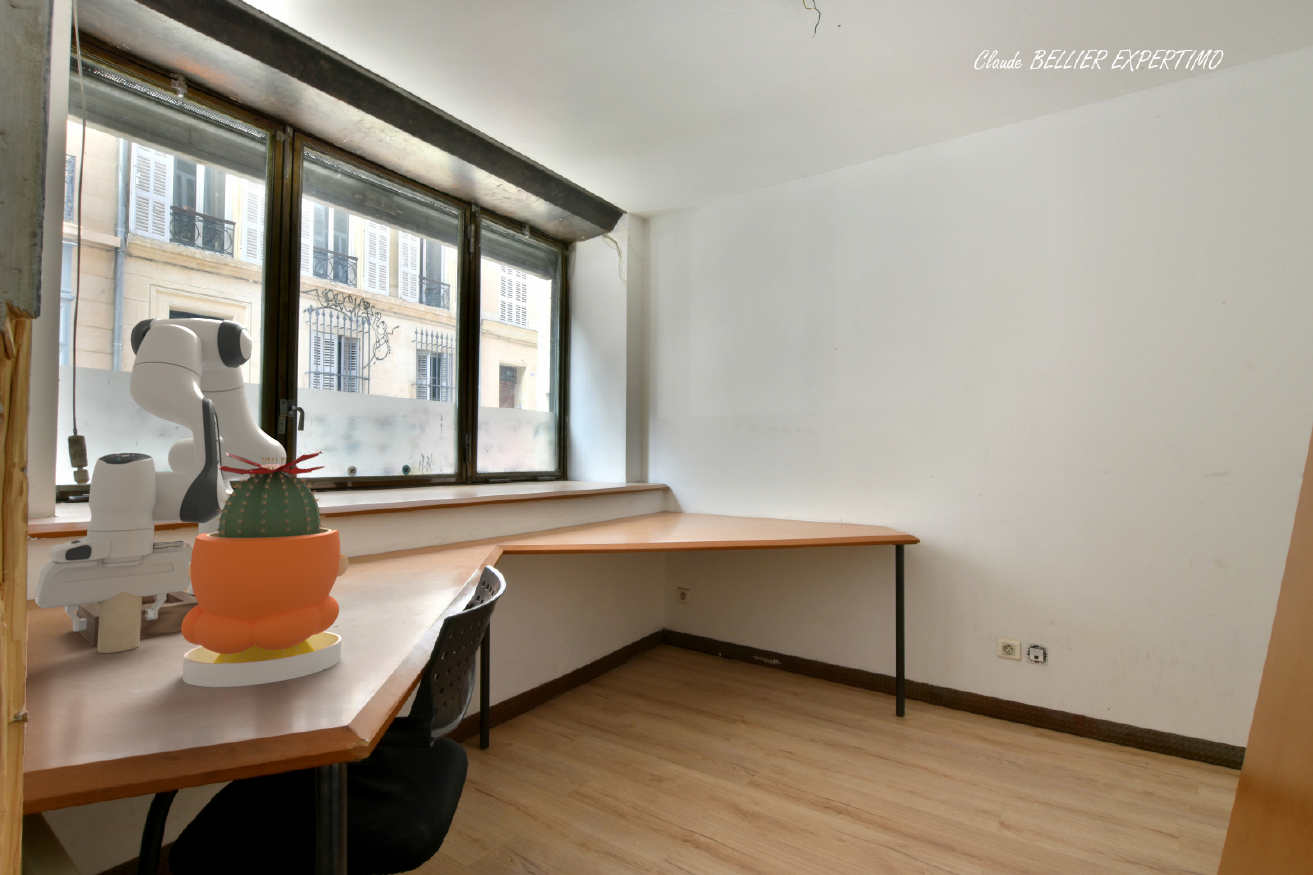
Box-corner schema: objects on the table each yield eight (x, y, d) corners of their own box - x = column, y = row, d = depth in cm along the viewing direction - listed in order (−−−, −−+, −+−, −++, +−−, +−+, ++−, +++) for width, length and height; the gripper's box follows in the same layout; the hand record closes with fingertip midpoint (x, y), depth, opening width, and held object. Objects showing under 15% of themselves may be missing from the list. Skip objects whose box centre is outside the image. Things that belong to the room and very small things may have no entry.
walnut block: (178, 615, 128) (179, 589, 128) (202, 629, 118) (204, 601, 119) (75, 631, 115) (77, 602, 116) (93, 648, 106) (95, 616, 106)
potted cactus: (199, 658, 100) (209, 449, 101) (348, 644, 109) (356, 452, 110) (150, 707, 80) (163, 447, 82) (337, 685, 89) (346, 450, 90)
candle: (141, 648, 104) (144, 591, 105) (98, 655, 100) (102, 595, 101) (137, 642, 108) (140, 586, 109) (95, 648, 104) (99, 590, 105)
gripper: (187, 538, 115) (184, 610, 115) (36, 549, 99) (31, 633, 98) (198, 541, 111) (194, 616, 111) (42, 553, 95) (37, 641, 95)
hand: (116, 624), depth 104 cm, fingers open, 8 cm apart
